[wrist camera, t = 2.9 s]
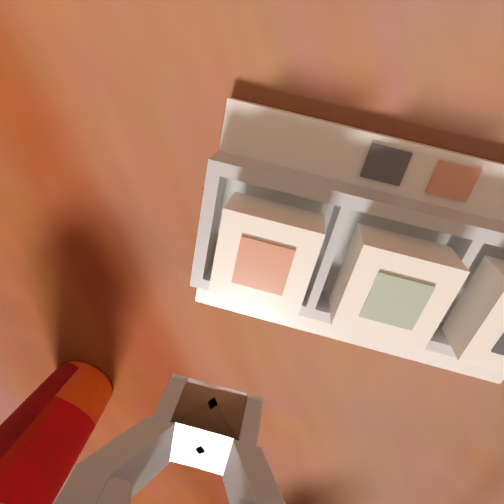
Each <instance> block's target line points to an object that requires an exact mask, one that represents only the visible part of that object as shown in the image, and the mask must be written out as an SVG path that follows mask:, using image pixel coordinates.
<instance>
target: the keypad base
mask: <svg viewBox="0 0 504 504" xmlns="http://www.w3.org/2000/svg"><path fill="white" fill-rule="evenodd" d="M234 192H239V193H243V194H247V195H251V196H254V197H258V198H262V199H266V200H270V201H274V202H278V203H282V204H286V205H290V206H294V207H297V208H301V209H305V210H309V211H313V212H317V213H321V214H324V215H325V232H326V235H325V238H324V241H323V244H322V247H321V250H320V253H319V256H318V259H317V262H316V265H315V267H314V270H313V273H312V276H311V279H310V282H309V285H308V288H307V291H306V294H305V297H304V300H303V303H302V306H301V309H300V311H299V314H298V317H295V316H292V315H288V314H284V313H280V312H277V311H273V310H269V309H266V308H262V307H258V306H255V305H251V304H247V303H244V302H240V301H236V300H232V299H229V298H225V297H221V296H218V295H214V294H210V293H208V290H209V284H210V278H211V273H212V267H213V262H214V256H215V251H216V245H217V239H218V234H219V228H220V223H221V217H222V212H223V208H224V206H225V205H226V203H227V202H228V200H229V199H230V198H231V196H232V195H233V193H234ZM357 223H360V224H364V225H368V226H372V227H376V228H380V229H384V230H388V231H391V232H395V233H399V234H403V235H407V236H411V237H415V238H419V239H423V240H427V241H431V242H434V243H438V244H442V245H446V246H450V247H451V248H452V249H453V250H454V252H455V253H456V254H457V256H458V257H459V258H460V259H461V261H462V262H463V263H464V265H465V266H466V267H467V268H468V270H469V271H470V274H469V275H468V277H467V279H466V280H465V282H464V284H463V285H462V287H461V289H460V290H459V292H458V294H457V296H456V297H455V299H454V301H453V302H452V304H451V306H450V307H449V309H448V311H447V312H446V314H445V316H444V317H443V319H442V321H441V323H440V324H439V326H438V328H437V329H436V331H435V333H434V334H433V336H432V338H431V339H430V341H429V343H428V345H427V346H426V348H425V350H424V351H421V350H417V349H413V348H410V347H406V346H402V345H399V344H395V343H391V342H388V341H384V340H380V339H377V338H373V337H369V336H365V335H362V334H358V333H354V332H351V331H347V330H343V329H340V328H336V327H332V326H331V322H330V305H329V297H330V294H331V291H332V289H333V286H334V283H335V281H336V278H337V276H338V273H339V270H340V268H341V265H342V263H343V260H344V257H345V255H346V252H347V249H348V247H349V244H350V242H351V239H352V236H353V234H354V231H355V229H356V226H357ZM484 256H489V257H493V258H497V259H501V260H504V163H500V162H496V161H492V160H488V159H484V158H480V157H476V156H472V155H467V154H463V153H459V152H455V151H451V150H447V149H443V148H439V147H434V146H430V145H426V144H422V143H418V142H414V141H410V140H406V139H401V138H397V137H393V136H389V135H385V134H381V133H377V132H373V131H368V130H364V129H360V128H356V127H352V126H348V125H344V124H340V123H335V122H331V121H327V120H323V119H319V118H315V117H311V116H307V115H302V114H298V113H294V112H290V111H286V110H282V109H278V108H274V107H269V106H265V105H261V104H257V103H253V102H249V101H245V100H241V99H236V98H232V97H230V98H228V99H227V105H226V111H225V117H224V123H223V130H222V136H221V142H220V148H219V151H218V152H217V153H216V154H214V155H213V156H212V157H210V158H209V159H208V165H207V172H206V179H205V186H204V192H203V199H202V206H201V213H200V220H199V226H198V233H197V240H196V247H195V253H194V260H193V267H192V274H191V280H190V286H193V287H196V288H197V292H196V298H195V301H197V302H200V303H204V304H208V305H211V306H215V307H219V308H222V309H226V310H230V311H233V312H237V313H241V314H244V315H248V316H252V317H255V318H259V319H263V320H266V321H270V322H274V323H277V324H281V325H285V326H288V327H292V328H296V329H300V330H303V331H307V332H311V333H314V334H318V335H322V336H325V337H329V338H333V339H336V340H340V341H344V342H347V343H351V344H355V345H358V346H362V347H366V348H369V349H373V350H377V351H380V352H384V353H388V354H391V355H395V356H399V357H402V358H406V359H410V360H413V361H417V362H421V363H424V364H428V365H432V366H435V367H439V368H443V369H446V370H450V371H454V372H457V373H461V374H465V375H468V376H472V377H476V378H479V379H483V380H487V381H490V382H494V383H498V384H500V383H501V382H502V381H503V380H504V373H502V372H498V371H495V370H491V369H487V368H484V367H480V366H476V365H473V364H469V363H465V362H461V361H458V360H457V358H456V356H455V354H454V352H453V350H452V348H451V346H450V344H449V342H448V340H447V338H446V336H445V334H444V332H443V329H442V326H443V324H444V323H445V321H446V319H447V318H448V316H449V314H450V313H451V311H452V309H453V308H454V306H455V304H456V303H457V301H458V299H459V298H460V296H461V294H462V293H463V291H464V289H465V288H466V286H467V284H468V283H469V281H470V279H471V278H472V276H473V274H474V273H475V271H476V269H477V268H478V266H479V264H480V263H481V261H482V259H483V258H484Z"/></svg>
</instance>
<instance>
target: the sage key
mask: <svg viewBox="0 0 504 504" xmlns="http://www.w3.org/2000/svg"><path fill="white" fill-rule="evenodd" d="M469 274H470V271H469V270H468V268H467V267H466V266H465V265H464V263H463V262H462V261H461V259H460V258H459V257H458V256H457V254H456V253H455V252H454V250H453V249H452V248H451V247H450V246H446V245H442V244H438V243H434V242H431V241H427V240H423V239H419V238H415V237H411V236H407V235H403V234H399V233H395V232H391V231H388V230H384V229H380V228H376V227H372V226H368V225H364V224H360V223H357V226H356V229H355V231H354V234H353V236H352V239H351V242H350V244H349V247H348V249H347V252H346V255H345V257H344V260H343V263H342V265H341V268H340V270H339V273H338V276H337V278H336V281H335V283H334V286H333V289H332V291H331V294H330V297H329V305H330V322H331V326H332V327H336V328H340V329H343V330H347V331H351V332H354V333H358V334H362V335H365V336H369V337H373V338H377V339H380V340H384V341H388V342H391V343H395V344H399V345H402V346H406V347H410V348H413V349H417V350H421V351H424V350H425V348H426V346H427V345H428V343H429V341H430V339H431V338H432V336H433V334H434V333H435V331H436V329H437V328H438V326H439V324H440V323H441V321H442V319H443V317H444V316H445V314H446V312H447V311H448V309H449V307H450V306H451V304H452V302H453V301H454V299H455V297H456V296H457V294H458V292H459V290H460V289H461V287H462V285H463V284H464V282H465V280H466V279H467V277H468V275H469Z"/></svg>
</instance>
